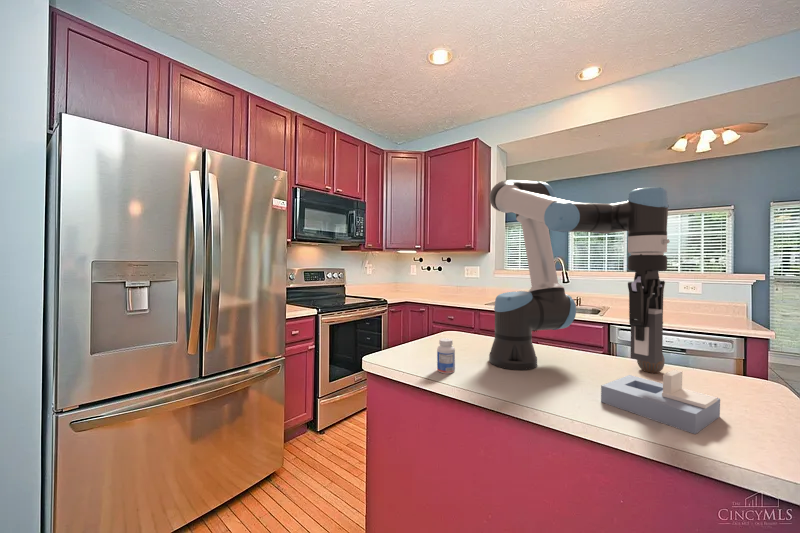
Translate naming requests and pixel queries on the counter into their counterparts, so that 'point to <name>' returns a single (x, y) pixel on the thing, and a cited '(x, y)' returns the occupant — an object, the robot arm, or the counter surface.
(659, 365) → the vase
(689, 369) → the counter surface
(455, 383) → the counter surface
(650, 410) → the socket board
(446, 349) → the pill bottle
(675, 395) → the shutter
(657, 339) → the plug
